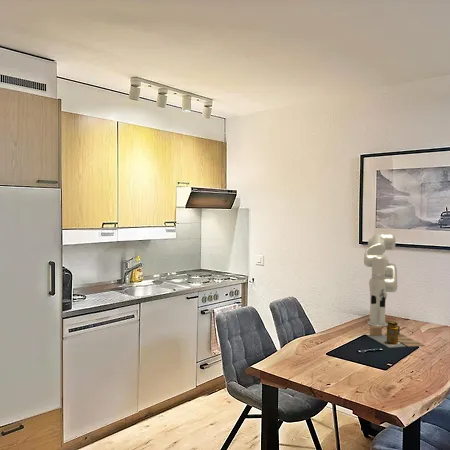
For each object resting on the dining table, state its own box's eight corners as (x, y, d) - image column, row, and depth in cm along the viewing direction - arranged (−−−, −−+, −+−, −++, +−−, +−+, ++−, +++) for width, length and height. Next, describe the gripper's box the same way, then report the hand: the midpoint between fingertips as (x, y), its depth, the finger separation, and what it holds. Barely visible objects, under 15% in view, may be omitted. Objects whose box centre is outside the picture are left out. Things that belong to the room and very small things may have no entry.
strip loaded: (367, 335, 268) (367, 326, 268) (382, 334, 270) (382, 325, 270) (389, 347, 245) (389, 338, 244) (405, 346, 246) (405, 337, 246)
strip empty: (384, 334, 270) (385, 325, 270) (399, 334, 272) (399, 325, 271) (408, 347, 246) (408, 337, 246) (424, 345, 248) (424, 336, 248)
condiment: (400, 343, 252) (401, 322, 251) (394, 346, 246) (394, 324, 245) (388, 340, 257) (388, 319, 257) (381, 343, 251) (381, 322, 251)
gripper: (365, 275, 273) (364, 302, 273) (380, 279, 256) (380, 308, 256) (376, 274, 274) (375, 302, 275) (392, 278, 257) (391, 308, 258)
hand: (377, 305), depth 266 cm, fingers open, 9 cm apart
